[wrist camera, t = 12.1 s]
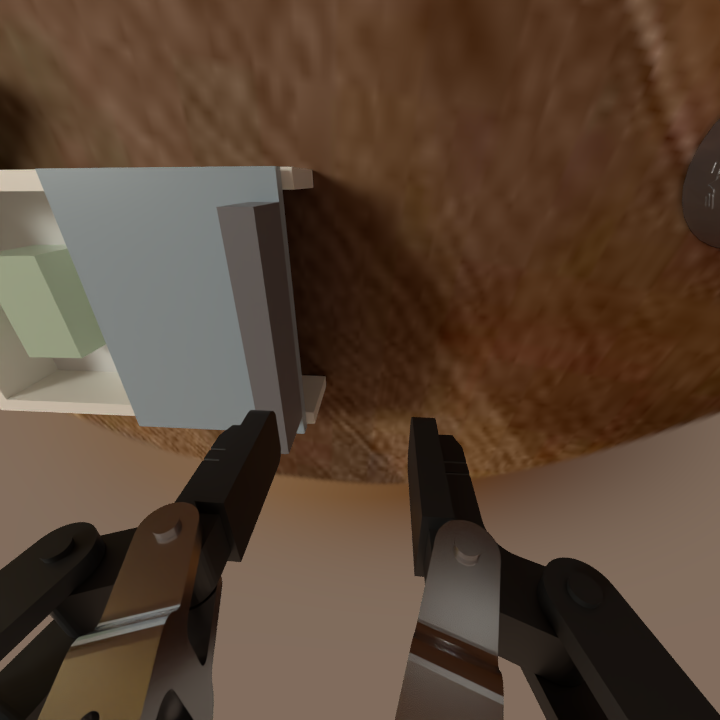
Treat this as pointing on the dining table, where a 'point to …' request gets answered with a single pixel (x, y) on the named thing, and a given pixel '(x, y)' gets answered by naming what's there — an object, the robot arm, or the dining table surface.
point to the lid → (188, 289)
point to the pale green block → (47, 302)
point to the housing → (96, 370)
